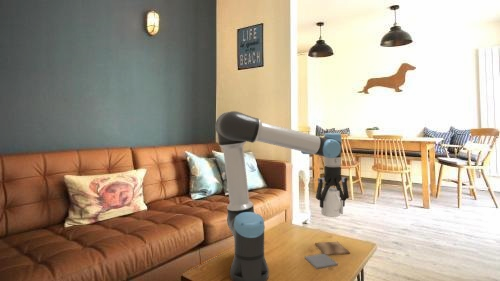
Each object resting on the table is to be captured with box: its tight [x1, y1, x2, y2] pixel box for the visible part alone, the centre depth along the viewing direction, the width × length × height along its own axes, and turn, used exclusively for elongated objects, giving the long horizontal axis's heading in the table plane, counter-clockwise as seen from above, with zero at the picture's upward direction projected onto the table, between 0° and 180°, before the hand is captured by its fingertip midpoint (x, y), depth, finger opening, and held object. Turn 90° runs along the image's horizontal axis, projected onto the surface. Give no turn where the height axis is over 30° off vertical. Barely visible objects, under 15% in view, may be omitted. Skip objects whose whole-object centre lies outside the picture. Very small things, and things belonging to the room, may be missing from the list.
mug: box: [321, 187, 341, 218], centre depth 134 cm, size 12×8×12 cm
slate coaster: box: [304, 253, 339, 270], centre depth 123 cm, size 10×10×1 cm
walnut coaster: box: [314, 241, 351, 257], centre depth 135 cm, size 12×12×1 cm
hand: (332, 213), depth 134 cm, fingers closed on mug, 8 cm apart
